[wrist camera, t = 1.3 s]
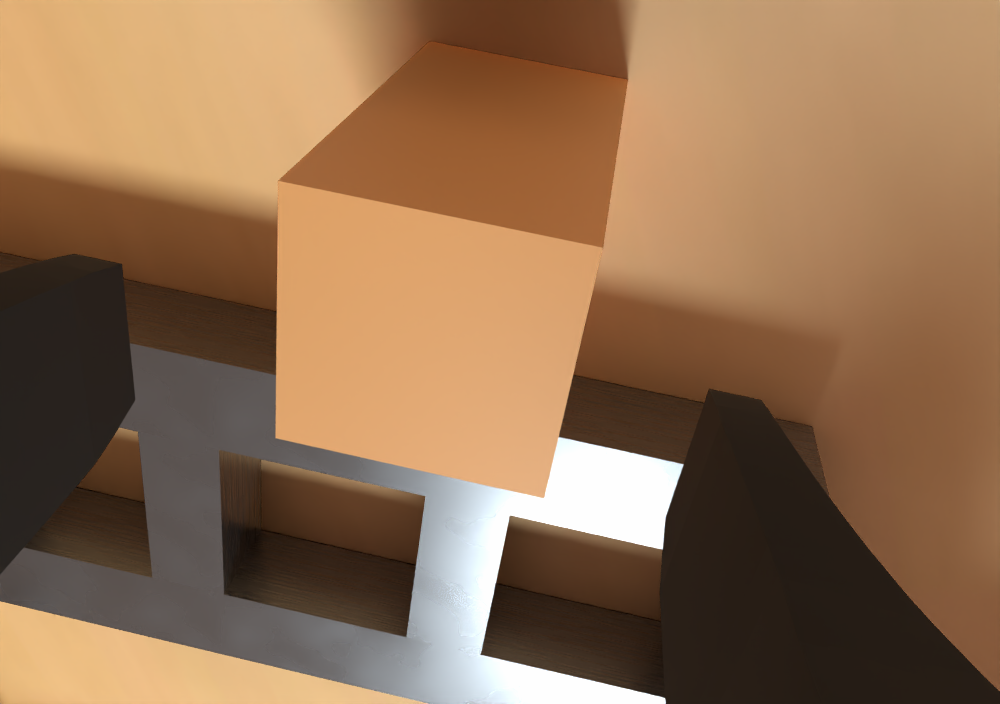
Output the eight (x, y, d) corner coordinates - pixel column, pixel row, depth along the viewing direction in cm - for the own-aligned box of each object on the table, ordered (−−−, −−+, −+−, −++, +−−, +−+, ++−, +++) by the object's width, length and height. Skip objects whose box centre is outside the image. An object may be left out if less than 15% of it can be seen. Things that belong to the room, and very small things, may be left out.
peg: (627, 79, 17) (602, 247, 10) (586, 260, 19) (544, 498, 12) (430, 41, 17) (278, 180, 10) (411, 224, 19) (275, 438, 13)
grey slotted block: (812, 426, 20) (828, 496, 18) (697, 691, 26) (701, 768, 24) (-67, 238, 22) (-146, 283, 20) (-1, 527, 27) (-58, 587, 25)
